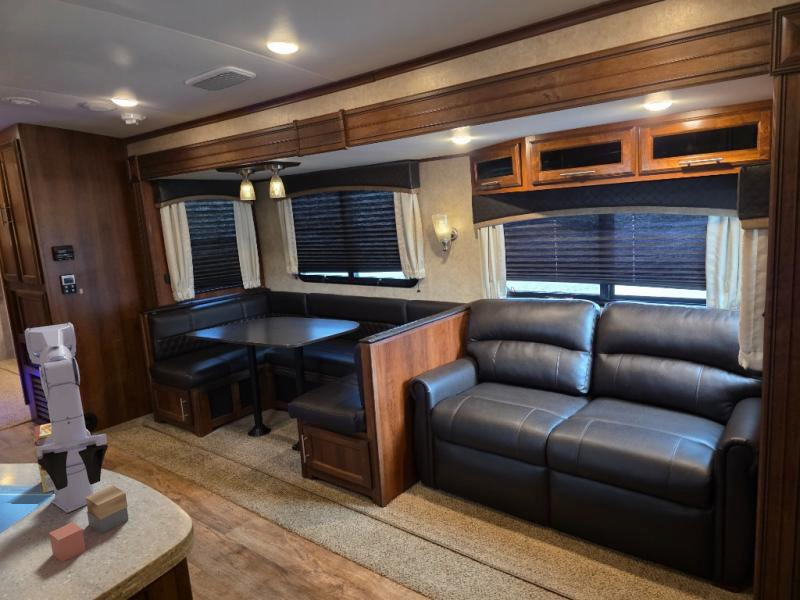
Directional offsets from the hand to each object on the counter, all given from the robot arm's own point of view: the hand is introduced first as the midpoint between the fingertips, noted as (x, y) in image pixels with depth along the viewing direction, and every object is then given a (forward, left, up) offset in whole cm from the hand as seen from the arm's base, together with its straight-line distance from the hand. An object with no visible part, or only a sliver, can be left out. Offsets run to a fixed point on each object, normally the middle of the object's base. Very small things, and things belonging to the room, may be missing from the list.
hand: (78, 485), depth 105 cm
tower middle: (-9, +8, -12) cm, 17 cm away
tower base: (-9, +8, -16) cm, 20 cm away
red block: (-5, -2, -16) cm, 16 cm away
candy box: (-40, +8, -16) cm, 44 cm away
